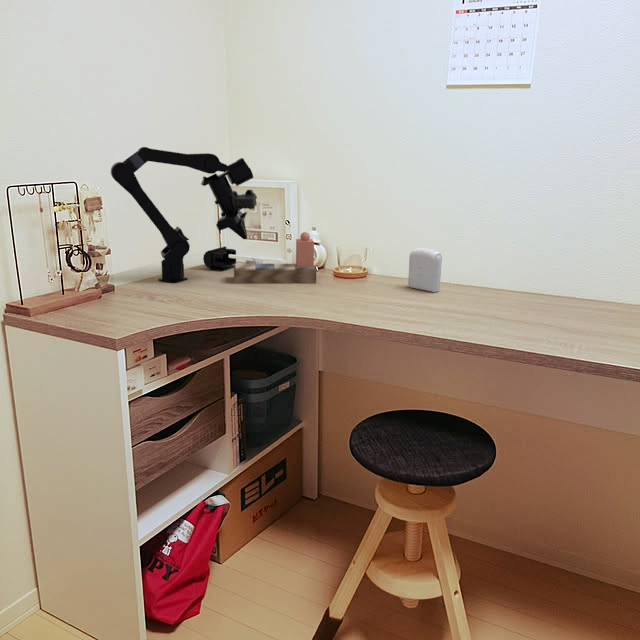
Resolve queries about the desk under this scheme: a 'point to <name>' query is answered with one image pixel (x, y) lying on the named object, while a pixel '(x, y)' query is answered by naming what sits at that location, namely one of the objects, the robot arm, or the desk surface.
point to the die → (254, 261)
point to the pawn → (305, 251)
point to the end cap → (219, 259)
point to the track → (273, 273)
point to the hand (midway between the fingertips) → (245, 238)
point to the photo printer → (425, 269)
